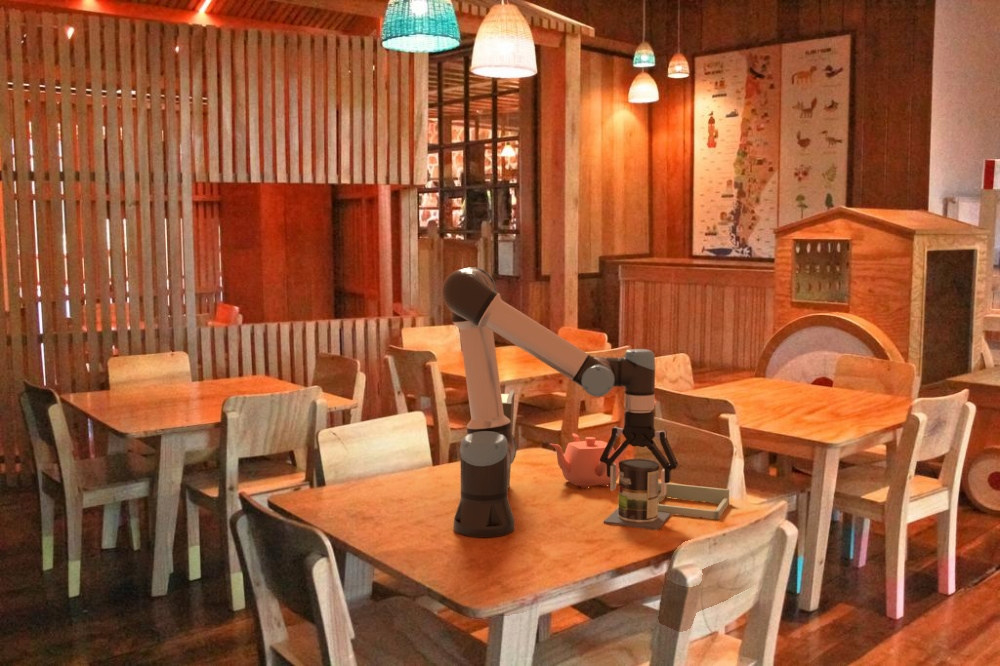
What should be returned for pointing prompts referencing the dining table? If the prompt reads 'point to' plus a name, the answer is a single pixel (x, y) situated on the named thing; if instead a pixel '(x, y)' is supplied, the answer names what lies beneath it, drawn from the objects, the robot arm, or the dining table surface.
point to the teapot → (585, 462)
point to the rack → (694, 494)
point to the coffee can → (638, 490)
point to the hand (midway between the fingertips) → (638, 492)
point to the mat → (652, 525)
